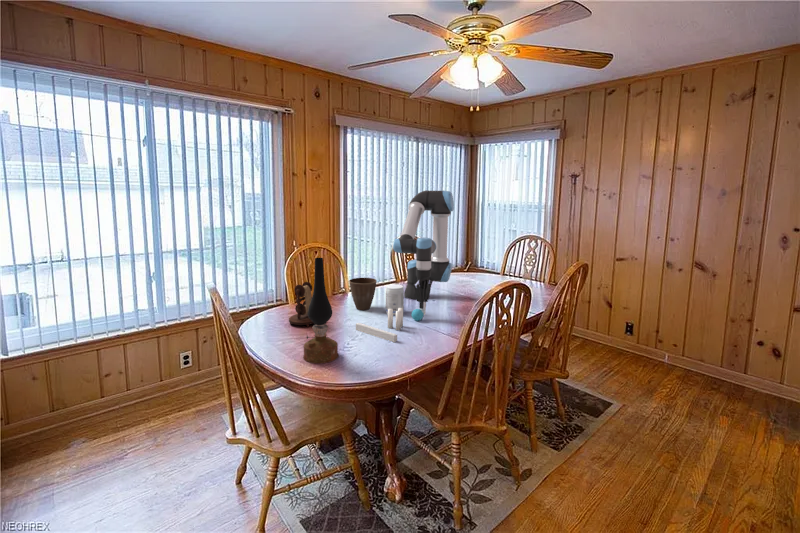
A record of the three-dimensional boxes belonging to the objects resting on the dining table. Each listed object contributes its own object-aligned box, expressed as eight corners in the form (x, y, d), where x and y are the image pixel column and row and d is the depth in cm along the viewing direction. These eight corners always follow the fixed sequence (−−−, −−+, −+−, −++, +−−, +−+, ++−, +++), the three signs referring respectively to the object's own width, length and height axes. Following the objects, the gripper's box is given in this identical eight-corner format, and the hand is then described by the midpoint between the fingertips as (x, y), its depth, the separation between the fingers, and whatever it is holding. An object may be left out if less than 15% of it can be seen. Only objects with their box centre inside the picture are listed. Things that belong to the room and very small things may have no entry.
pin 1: (390, 326, 201) (390, 308, 200) (393, 327, 200) (394, 309, 198) (386, 327, 199) (386, 309, 198) (390, 328, 198) (390, 310, 196)
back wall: (359, 328, 197) (359, 322, 197) (397, 341, 182) (397, 334, 181) (355, 329, 196) (355, 323, 195) (394, 342, 180) (394, 335, 180)
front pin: (400, 325, 203) (400, 307, 201) (403, 326, 201) (404, 308, 200) (396, 326, 201) (397, 308, 200) (400, 327, 200) (400, 309, 198)
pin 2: (397, 328, 198) (398, 310, 196) (401, 329, 196) (402, 311, 195) (394, 329, 196) (394, 311, 195) (398, 331, 195) (398, 312, 193)
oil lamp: (339, 358, 171) (352, 261, 171) (335, 367, 156) (349, 261, 156) (305, 354, 171) (318, 257, 171) (298, 362, 155) (312, 256, 155)
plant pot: (375, 312, 223) (375, 283, 220) (347, 312, 223) (347, 283, 220) (377, 305, 238) (377, 277, 235) (351, 304, 238) (351, 277, 235)
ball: (417, 311, 216) (413, 305, 212) (427, 314, 212) (422, 307, 208) (412, 321, 213) (407, 315, 209) (421, 324, 209) (416, 317, 205)
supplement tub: (396, 309, 230) (396, 283, 227) (407, 313, 223) (407, 286, 220) (382, 312, 224) (382, 285, 221) (393, 316, 217) (393, 289, 214)
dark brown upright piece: (309, 329, 196) (308, 287, 192) (282, 325, 200) (281, 285, 197) (325, 320, 209) (324, 281, 206) (299, 317, 214) (298, 278, 210)
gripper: (425, 266, 216) (424, 310, 220) (409, 269, 206) (408, 315, 210) (437, 268, 212) (435, 313, 216) (421, 271, 202) (420, 318, 206)
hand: (422, 314), depth 213 cm, fingers closed
